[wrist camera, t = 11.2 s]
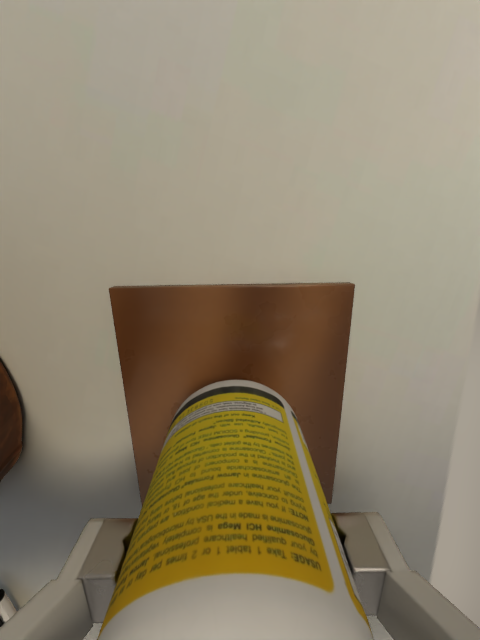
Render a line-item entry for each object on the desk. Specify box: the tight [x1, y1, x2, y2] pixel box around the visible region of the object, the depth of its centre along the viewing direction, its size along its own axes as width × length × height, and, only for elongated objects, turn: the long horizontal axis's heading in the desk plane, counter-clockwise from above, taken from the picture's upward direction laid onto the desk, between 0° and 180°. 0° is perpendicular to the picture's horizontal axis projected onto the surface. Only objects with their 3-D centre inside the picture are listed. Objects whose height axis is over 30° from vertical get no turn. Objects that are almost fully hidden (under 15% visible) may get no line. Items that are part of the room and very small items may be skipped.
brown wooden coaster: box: [109, 282, 355, 506], centre depth 15 cm, size 12×14×1 cm
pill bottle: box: [97, 380, 374, 640], centre depth 8 cm, size 6×6×11 cm
